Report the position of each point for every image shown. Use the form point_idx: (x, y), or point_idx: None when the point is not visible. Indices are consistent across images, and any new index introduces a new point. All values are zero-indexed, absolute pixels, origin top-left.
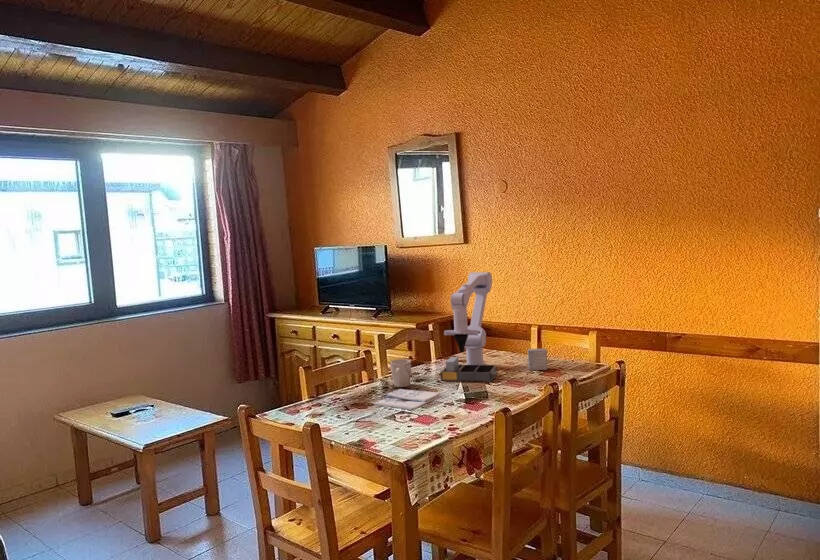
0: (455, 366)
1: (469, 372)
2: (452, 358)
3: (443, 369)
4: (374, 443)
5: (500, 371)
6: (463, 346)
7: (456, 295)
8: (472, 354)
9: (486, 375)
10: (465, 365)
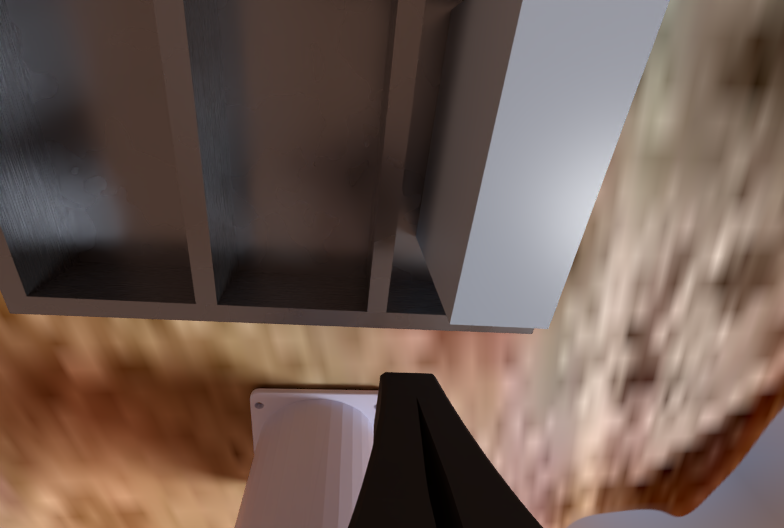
0: (464, 113)
1: None
2: (532, 246)
3: None
4: None
5: (79, 339)
6: (370, 460)
7: None
8: (310, 502)
9: None
10: (359, 308)
